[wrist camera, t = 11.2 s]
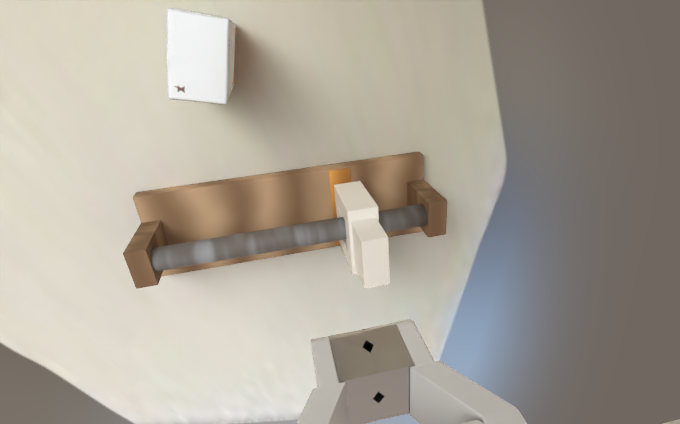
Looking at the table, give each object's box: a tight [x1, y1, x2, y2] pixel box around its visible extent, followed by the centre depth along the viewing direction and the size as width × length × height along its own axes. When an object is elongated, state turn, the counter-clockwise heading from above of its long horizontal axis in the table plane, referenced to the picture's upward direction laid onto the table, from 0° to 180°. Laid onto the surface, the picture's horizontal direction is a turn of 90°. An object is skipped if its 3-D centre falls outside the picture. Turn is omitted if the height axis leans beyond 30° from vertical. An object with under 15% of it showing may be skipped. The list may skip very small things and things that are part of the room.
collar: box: [334, 181, 390, 289], centre depth 40 cm, size 3×7×11 cm, turn 5°
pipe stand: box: [123, 152, 447, 288], centre depth 43 cm, size 32×10×8 cm, turn 95°
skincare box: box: [166, 8, 236, 104], centre depth 33 cm, size 6×4×12 cm
